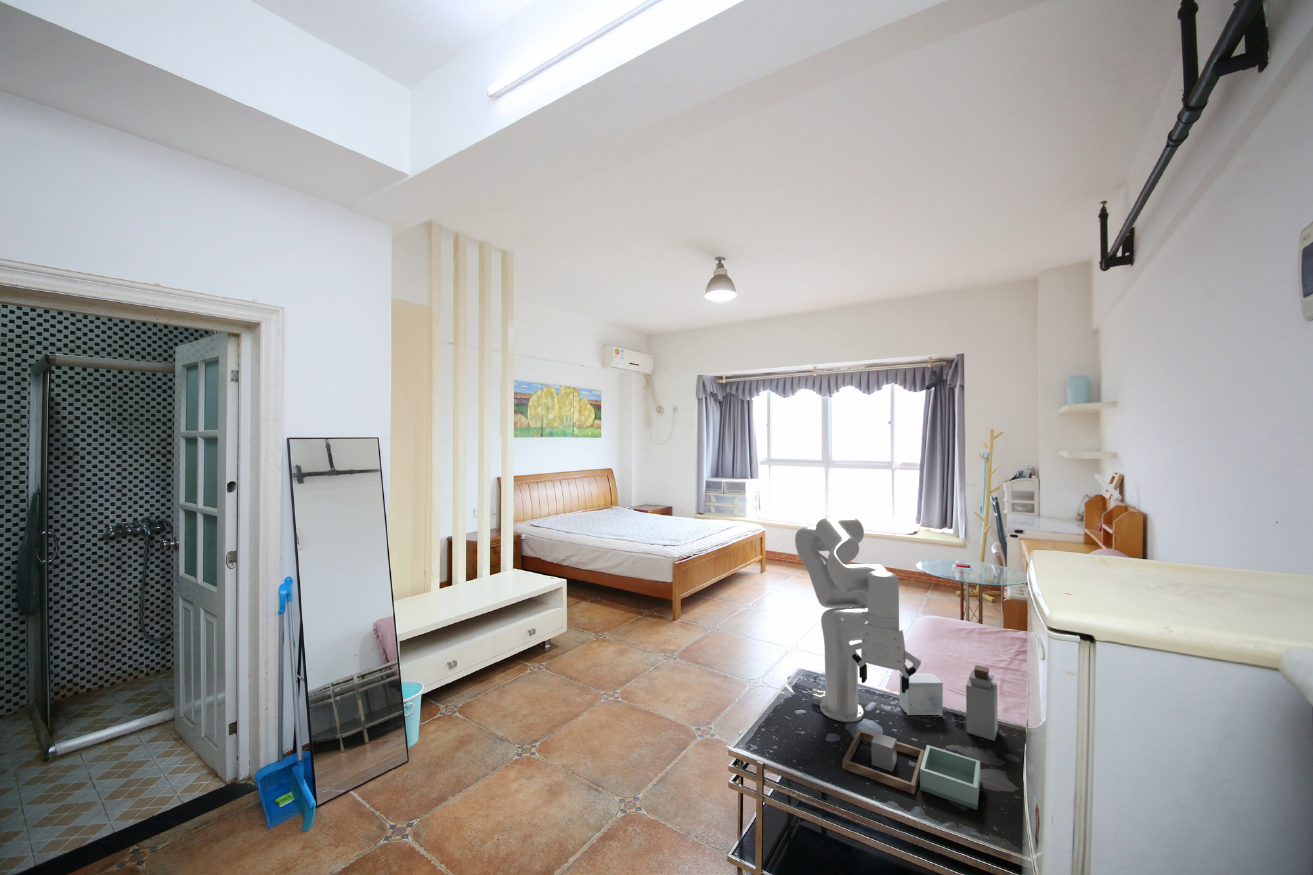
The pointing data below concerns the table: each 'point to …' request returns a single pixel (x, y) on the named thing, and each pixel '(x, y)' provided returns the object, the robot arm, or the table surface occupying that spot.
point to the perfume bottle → (981, 704)
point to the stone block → (884, 752)
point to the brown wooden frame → (879, 775)
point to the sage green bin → (950, 776)
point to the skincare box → (922, 695)
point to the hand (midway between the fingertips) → (883, 685)
